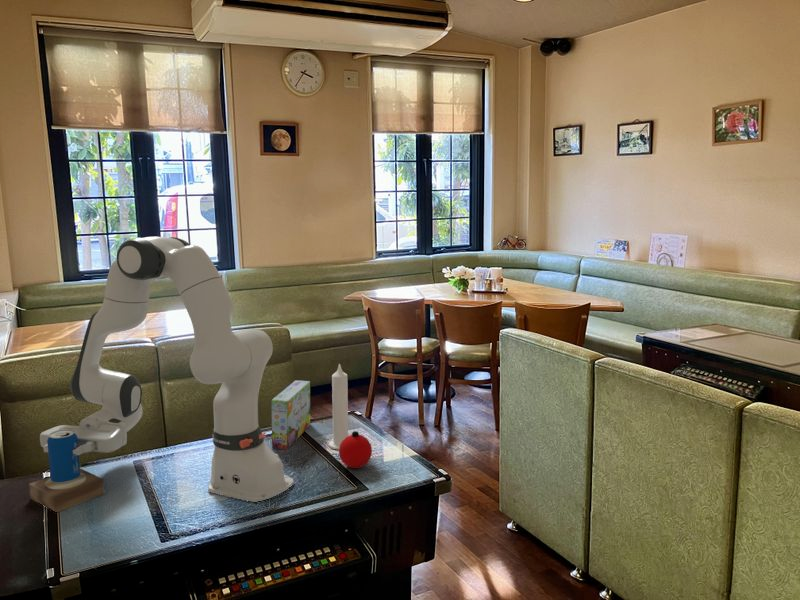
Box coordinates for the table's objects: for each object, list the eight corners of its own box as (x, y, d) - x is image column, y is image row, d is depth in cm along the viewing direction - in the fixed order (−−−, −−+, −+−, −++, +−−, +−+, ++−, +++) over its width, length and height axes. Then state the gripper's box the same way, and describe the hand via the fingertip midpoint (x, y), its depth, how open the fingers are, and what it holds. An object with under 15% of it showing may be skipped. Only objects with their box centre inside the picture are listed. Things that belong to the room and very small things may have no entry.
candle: (324, 445, 191) (322, 363, 187) (342, 438, 195) (341, 359, 191) (338, 452, 186) (337, 368, 181) (357, 445, 190) (356, 364, 186)
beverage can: (68, 486, 154) (64, 439, 152) (44, 484, 155) (40, 437, 153) (86, 475, 160) (82, 429, 158) (63, 472, 161) (59, 427, 159)
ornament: (333, 464, 177) (333, 429, 176) (362, 457, 182) (362, 423, 180) (348, 476, 170) (347, 440, 168) (377, 469, 174) (377, 434, 173)
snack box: (289, 450, 187) (288, 401, 184) (271, 449, 188) (269, 399, 185) (311, 424, 208) (310, 380, 205) (295, 423, 209) (294, 379, 206)
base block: (104, 493, 160) (102, 477, 159) (55, 513, 150) (53, 495, 149) (78, 481, 166) (77, 465, 166) (30, 499, 157) (28, 482, 156)
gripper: (60, 416, 170) (21, 435, 157) (130, 421, 166) (96, 441, 153) (62, 438, 171) (24, 459, 158) (132, 444, 168) (98, 466, 154)
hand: (60, 451), depth 155 cm, fingers closed on beverage can, 6 cm apart
